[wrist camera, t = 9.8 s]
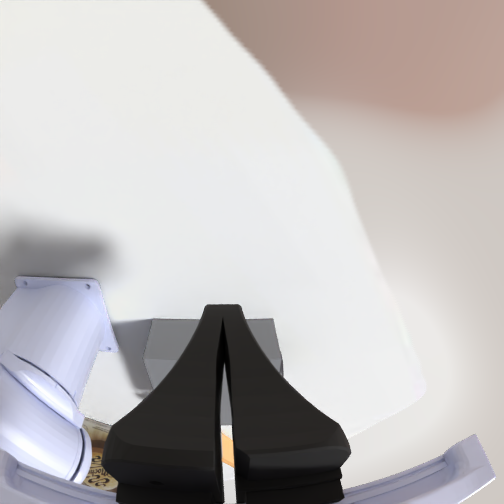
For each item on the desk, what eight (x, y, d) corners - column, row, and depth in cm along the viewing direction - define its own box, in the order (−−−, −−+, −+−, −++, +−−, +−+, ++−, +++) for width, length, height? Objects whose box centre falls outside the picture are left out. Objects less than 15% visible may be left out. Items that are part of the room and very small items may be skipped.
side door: (165, 394, 28) (162, 423, 24) (173, 392, 27) (170, 422, 24) (234, 447, 35) (235, 469, 32) (240, 445, 35) (242, 468, 32)
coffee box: (139, 432, 33) (128, 532, 19) (137, 446, 35) (129, 534, 21) (79, 414, 31) (56, 509, 17) (84, 431, 33) (66, 515, 19)
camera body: (170, 388, 28) (165, 426, 23) (153, 318, 23) (141, 362, 19) (270, 387, 29) (276, 426, 24) (280, 318, 24) (290, 362, 20)
